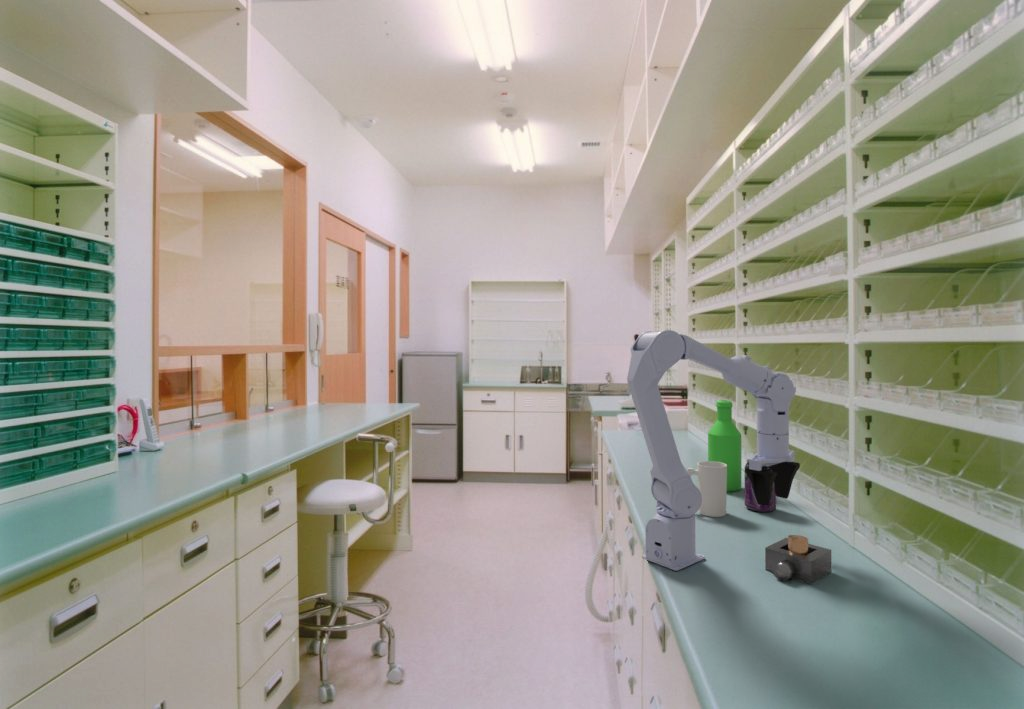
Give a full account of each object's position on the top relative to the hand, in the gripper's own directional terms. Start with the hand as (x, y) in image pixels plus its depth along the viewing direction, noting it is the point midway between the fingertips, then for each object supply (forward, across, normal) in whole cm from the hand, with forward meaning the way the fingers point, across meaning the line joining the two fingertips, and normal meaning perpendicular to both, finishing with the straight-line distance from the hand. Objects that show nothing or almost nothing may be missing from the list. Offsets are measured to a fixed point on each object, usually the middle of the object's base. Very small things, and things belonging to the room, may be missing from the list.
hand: (772, 500), depth 106 cm
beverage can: (+10, +24, +15) cm, 30 cm away
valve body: (+10, -6, -8) cm, 14 cm away
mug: (+10, +11, +22) cm, 27 cm away
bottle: (+10, +35, +31) cm, 48 cm away
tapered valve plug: (+10, -6, -8) cm, 14 cm away
